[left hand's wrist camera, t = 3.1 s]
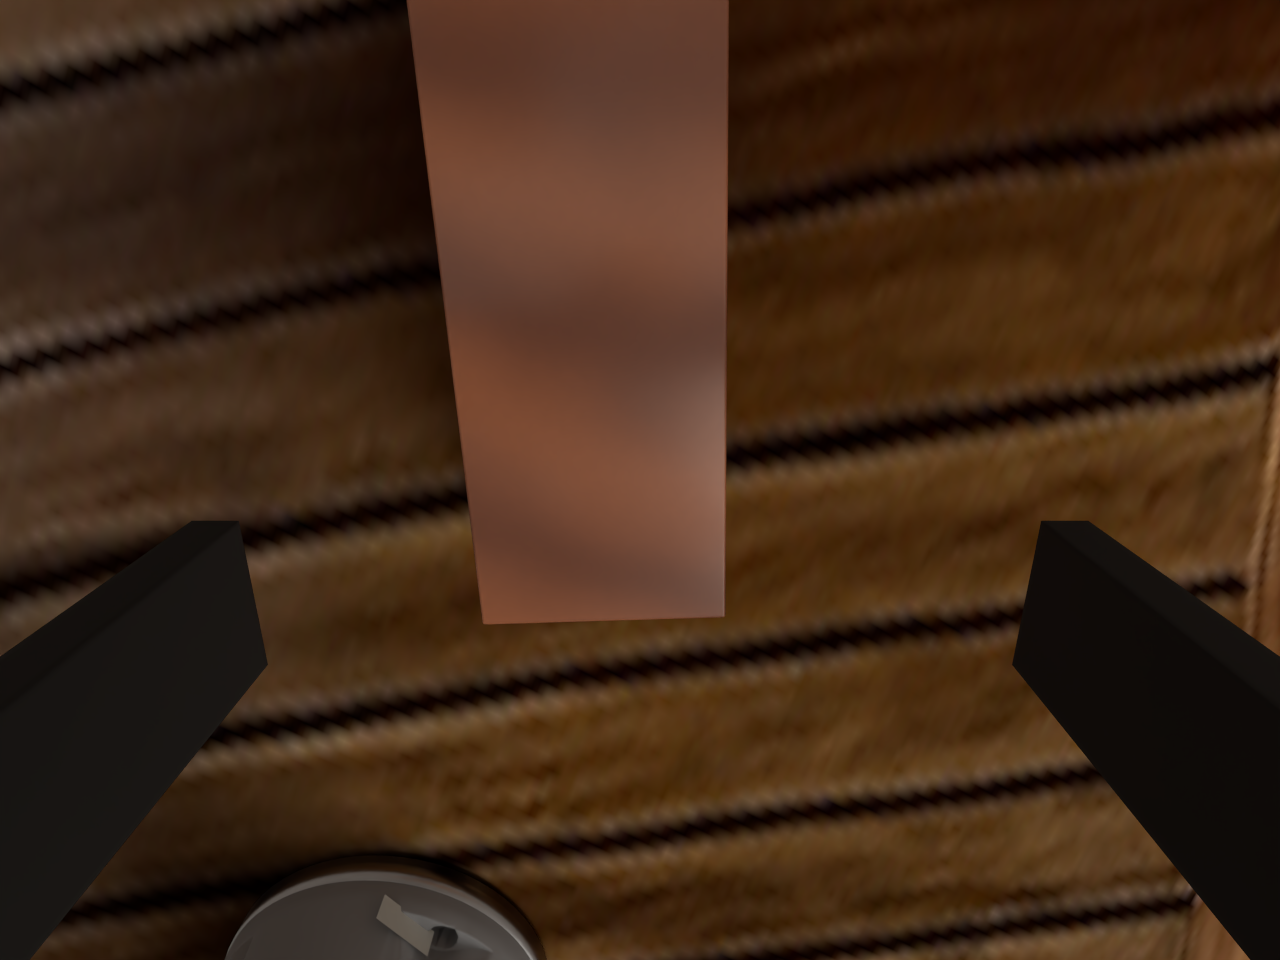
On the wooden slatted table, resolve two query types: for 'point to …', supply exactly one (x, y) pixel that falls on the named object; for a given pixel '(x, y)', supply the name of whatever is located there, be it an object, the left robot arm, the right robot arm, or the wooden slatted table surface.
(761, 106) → the wooden slatted table surface
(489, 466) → the cabinet
